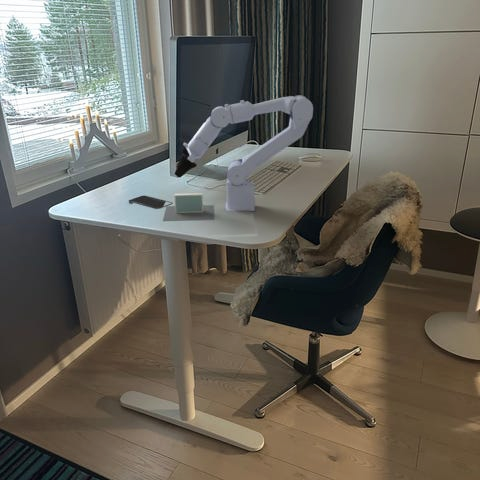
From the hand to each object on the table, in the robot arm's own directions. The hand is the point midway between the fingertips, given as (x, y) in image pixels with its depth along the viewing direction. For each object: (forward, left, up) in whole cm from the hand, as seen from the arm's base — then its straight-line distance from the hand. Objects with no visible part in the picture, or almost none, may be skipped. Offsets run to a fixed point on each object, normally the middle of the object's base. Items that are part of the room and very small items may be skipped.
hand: (177, 172), depth 149 cm
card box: (-3, +5, -12) cm, 13 cm away
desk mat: (-3, +6, -13) cm, 14 cm away
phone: (+11, -6, -13) cm, 18 cm away
